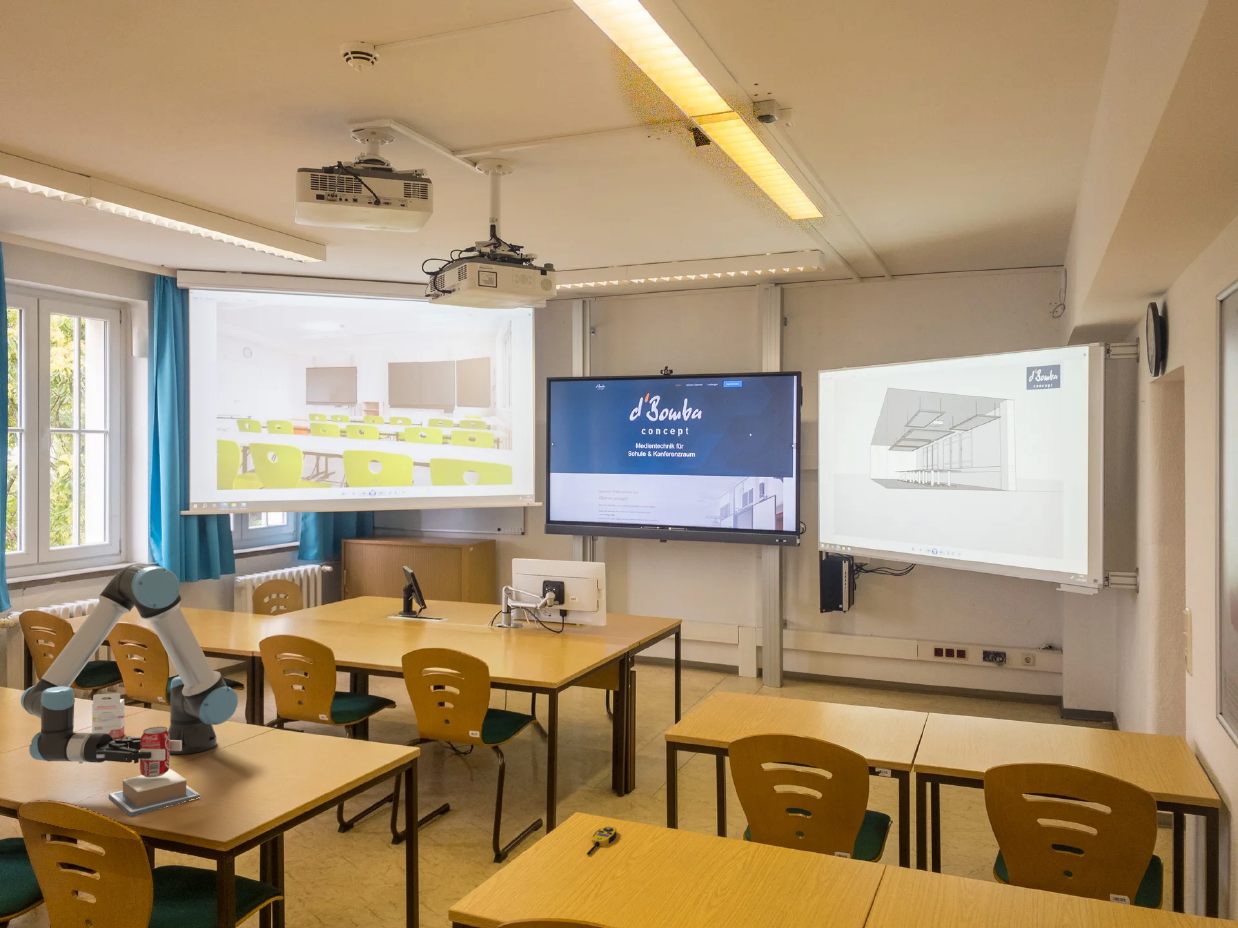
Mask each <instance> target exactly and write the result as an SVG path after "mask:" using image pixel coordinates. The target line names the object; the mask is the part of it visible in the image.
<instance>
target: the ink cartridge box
mask: <svg viewBox="0 0 1238 928" xmlns="http://www.w3.org/2000/svg"><path fill="white" fill-rule="evenodd" d="M103 698H106V699H103ZM107 698H108V699H107ZM109 698H110V699H109ZM91 706H92V710H91V711H92V712H91V715H92V717H91V718H92V719H91V720H92V725H91V728H92V729H91V733H94V734H95V733H105V734H109V735H110V736H111V737H112V739H121V738H122V736H123V735H124V734H125V698H121V693H119V692H117V693H103V694H102V693H101V694H99V693H98V694H93V698H92V705H91Z"/></svg>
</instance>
